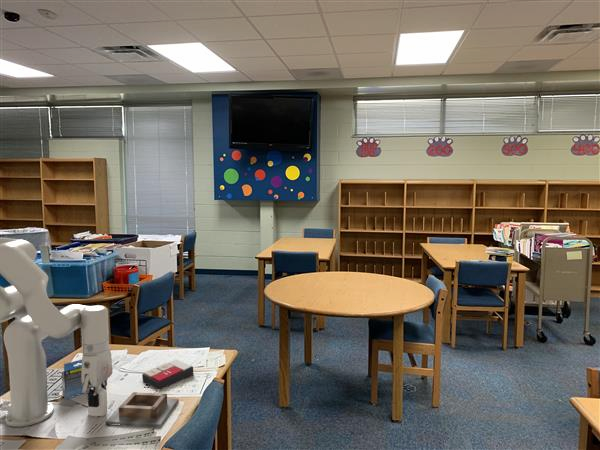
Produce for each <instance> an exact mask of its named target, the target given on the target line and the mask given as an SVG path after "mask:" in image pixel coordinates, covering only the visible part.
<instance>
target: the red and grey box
mask: <svg viewBox="0 0 600 450" xmlns="http://www.w3.org/2000/svg"><path fill="white" fill-rule="evenodd" d="M141 376H142V382H143V383H146V384H147V385H149V386H151V387H153V388H155V389H157V390H158V391H159V390H162V389H165V388H167V387H170V386H171V385H174V384H176V383H178V382H180V381H183V380H186V379H188V378H190V377H193V376H194V367H193V366H192V365H190V364H188V363H186V362H183V361H181V360H178V359H173V360H170V361H169V362H165V363H163V364H160V365H158V366H156V367H154V368H151V369H149V370H147V371H144V372H143V373H142V374H141Z"/></svg>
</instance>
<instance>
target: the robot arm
mask: <svg viewBox="0 0 600 450" xmlns="http://www.w3.org/2000/svg"><path fill="white" fill-rule="evenodd" d="M37 255H38V253H37V249H36V247H35V246H34V245H33V243H31V242H29V241H27V240H25V239H19V238H18V239H17V238H8V237H0V276H2V277H3V278H4V279H5V280H6V281H7V282H8V283H9V284H10V285H8V286H5V287H3V286H1V285H0V323H4V322H7V321H8V320H10V319H13V318H14V317H15V318H16V319H14V320H12V322H10V323H9V324H8V325H7V327H6V328H5V330H4V332H3V342H4V346H5V347H4V348H5V349H6V353H7V354H6V355H7V361H8V373H9V374H8V375H9V393H10V395H9V396H10V400H8V399H6V400H4V401H3V402H2V405H1V406H0V411H7V414H6V416H5V424H6V425H7V426H9V427H15V428H22V427H27V426H28V427H29V426H31V425H35V424H38V423H41V422H43V421H44V420H46V419H48V418H49V417H50V416H51V415H53V413H54V410H55V406H54V404H53V403H50V402H49V400H48V399H49V398H48V395H49V393H48V377H47V376H48V374H47V373H48V372H47V357H46V352H45V349H44V348H43V345H42V341H44V340H45V339H46V338H47V337H52V338H53V339H54V338H55V339H61V338H62V339H63V338H65V337H67V336H68V335H71V333H73V332H74V331H76V330H78V329H80V328H81V332H80V333H81V353H82V359H81V360H82V363H81V365H82V369H81V380H82V385H83V390H82V392H83V394H86V395H87V407H88V406H89V407H98V406H99V394H97V388H98V386H99V385H101V387H102V388H104V389H105V390H106V391H107V386H108V382H107V381H108V379H109V378H110V377H111V376H112V374H113V360H112V353H111V347H110V340H109V339H110V336H109V335H110V334H109V333H110V332H109V309H108V308H107V307H106V306H104V305H99V304H97V305H83V304H78V303H77V304H75V303H74V304H73V303H72V304H69V305H67V306H65V307H62V308H61V309H58V307H57V306H56V305H54V304H53V303H52V302H51V300H50V298H49V296H48V292H47V286H48V282H49V276H48V274H47V273H46V272H45V271H44V270H42V268H40V267H39V265H38V264H37V263H36V262H35V261H36V258H37ZM90 383H91V384H90ZM91 387H94V390H93V389H91Z"/></svg>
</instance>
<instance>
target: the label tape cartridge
mask: <svg viewBox="0 0 600 450" xmlns="http://www.w3.org/2000/svg"><path fill="white" fill-rule="evenodd" d="M81 369H82V359H78V360H75V361H70V362H68V363H63V371H62V372H61V387H62V388H61V389H62V390H61V391H62V392H61V394H62V397H63V398H64V399H65V400H67V399H70V397H71V398H73V397H72V396H74V397H76V396H75V395H77V396H79V395H78V394H80V395H84V393H83V392H82V390H83V385H82V380H81ZM90 384H91V383H90ZM91 388H93V387H91Z"/></svg>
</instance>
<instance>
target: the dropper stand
mask: <svg viewBox="0 0 600 450" xmlns="http://www.w3.org/2000/svg"><path fill="white" fill-rule="evenodd" d="M178 403H179V398H176V397H175V398H171V397H168V393H157V392H136V391H134V392H133V391H132V393H130V395H129V396H128V397H127V398H126V399H125V400H124V401H123V402H122V403H121V404H120V405H119V407H118V408H116V409H115V410H114V412H113V413H112V414H111V415H109V417H108V418H106V420H105V422H104V425H105V424H120V425H119V426H123V425H127V426H128V427H143V428H144V427H145V428H147V427H148V428H161V427H162V426H163V424H164V423H165V422H166V420H167V419H168V418H169V416H170V415H171V413H172V412H173V411H174V409H175V407H176V406H177V404H178Z"/></svg>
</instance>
